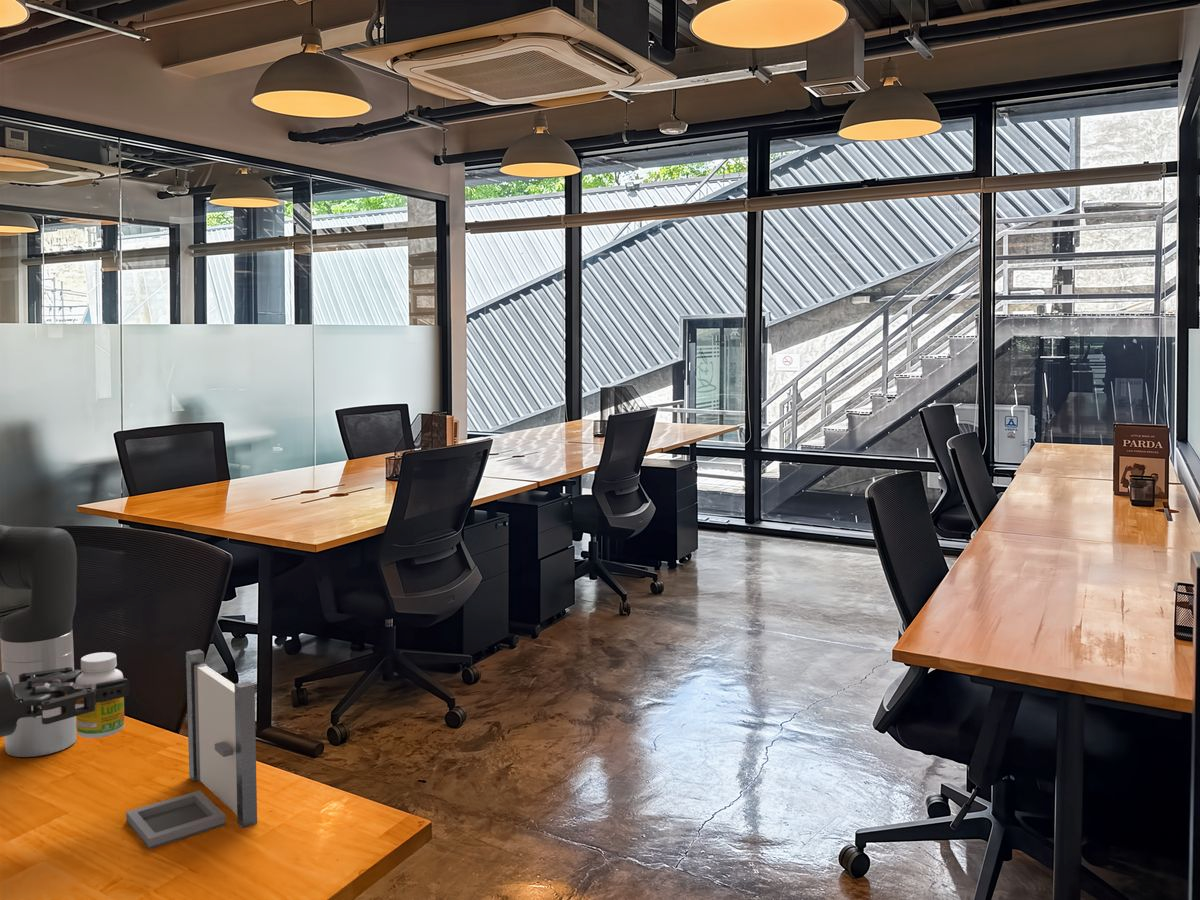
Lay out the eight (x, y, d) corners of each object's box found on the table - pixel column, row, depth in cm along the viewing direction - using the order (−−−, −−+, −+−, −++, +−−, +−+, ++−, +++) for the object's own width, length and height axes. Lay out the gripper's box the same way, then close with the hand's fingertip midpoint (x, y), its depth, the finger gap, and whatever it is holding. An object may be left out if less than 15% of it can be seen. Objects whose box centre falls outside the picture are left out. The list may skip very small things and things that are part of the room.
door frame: (189, 777, 130) (185, 651, 128) (202, 773, 131) (199, 649, 129) (243, 828, 116) (240, 687, 114) (257, 823, 117) (254, 684, 115)
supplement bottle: (104, 741, 115) (101, 665, 114) (66, 736, 116) (64, 661, 115) (134, 724, 120) (132, 652, 119) (98, 720, 121) (95, 648, 120)
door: (185, 780, 127) (182, 667, 126) (207, 774, 129) (204, 662, 128) (226, 820, 116) (224, 696, 115) (249, 813, 118) (247, 691, 117)
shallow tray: (126, 821, 117) (126, 811, 117) (199, 799, 123) (199, 790, 123) (149, 849, 110) (148, 838, 110) (225, 824, 116) (225, 815, 116)
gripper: (-26, 697, 102) (138, 666, 114) (-48, 665, 113) (105, 638, 124) (-23, 763, 103) (140, 724, 115) (-45, 724, 114) (106, 693, 125)
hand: (121, 680), depth 119 cm, fingers closed on supplement bottle, 5 cm apart
